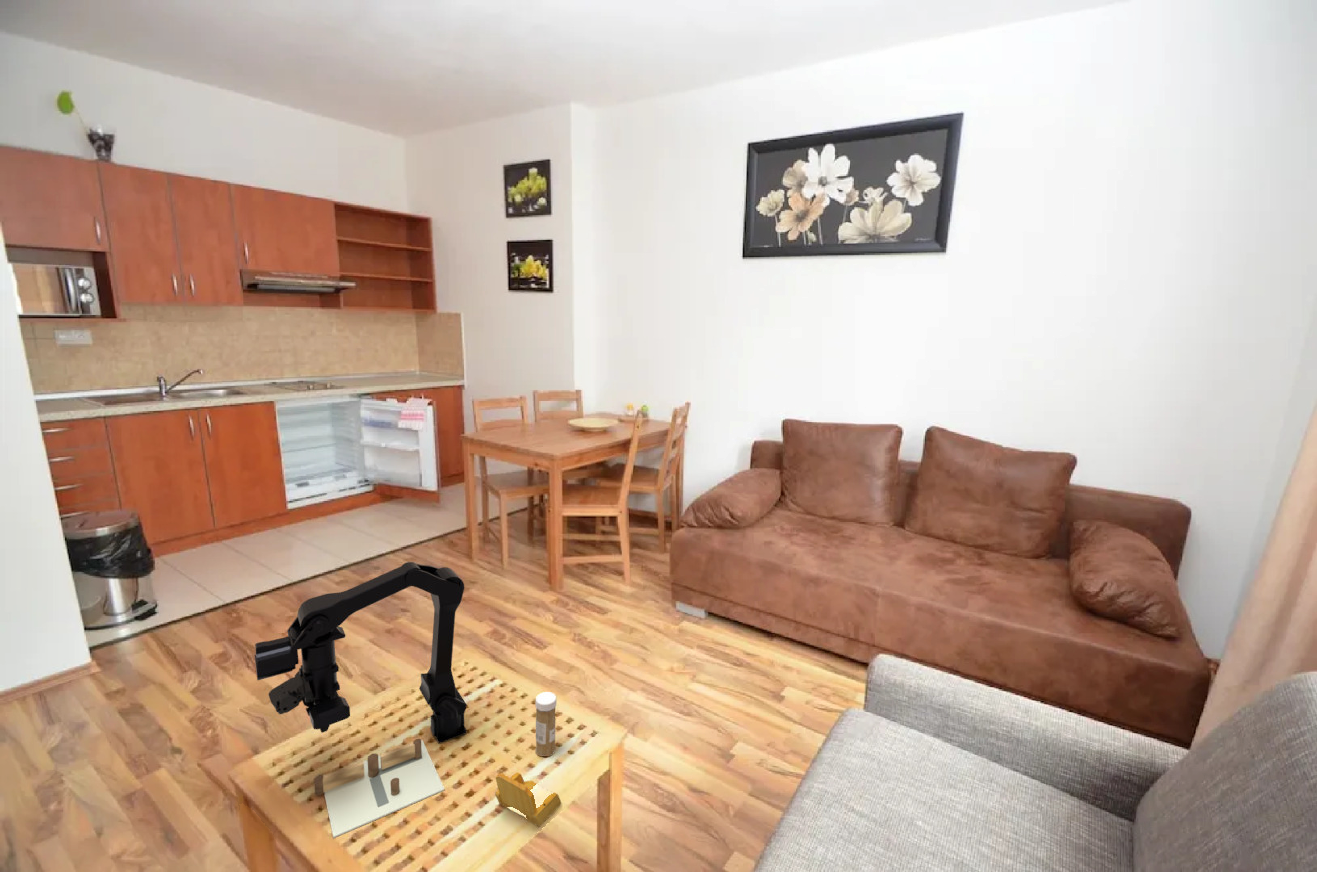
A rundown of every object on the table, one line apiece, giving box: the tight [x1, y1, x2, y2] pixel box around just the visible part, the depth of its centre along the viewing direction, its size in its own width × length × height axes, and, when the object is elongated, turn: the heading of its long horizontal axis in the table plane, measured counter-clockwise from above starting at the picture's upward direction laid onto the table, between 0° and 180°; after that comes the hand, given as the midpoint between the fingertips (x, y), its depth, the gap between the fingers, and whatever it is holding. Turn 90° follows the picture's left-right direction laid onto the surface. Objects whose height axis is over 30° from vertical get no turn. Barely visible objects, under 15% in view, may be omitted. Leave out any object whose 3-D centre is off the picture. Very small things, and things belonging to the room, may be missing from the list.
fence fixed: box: [366, 738, 422, 796], centre depth 119 cm, size 11×9×4 cm
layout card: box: [323, 739, 445, 839], centre depth 117 cm, size 20×17×1 cm
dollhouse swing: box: [494, 772, 562, 827], centre depth 113 cm, size 10×10×9 cm
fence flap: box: [313, 760, 364, 796], centre depth 115 cm, size 9×2×3 cm, turn 127°
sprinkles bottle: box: [535, 691, 557, 757], centre depth 128 cm, size 5×5×14 cm
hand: (323, 730), depth 116 cm, fingers closed
